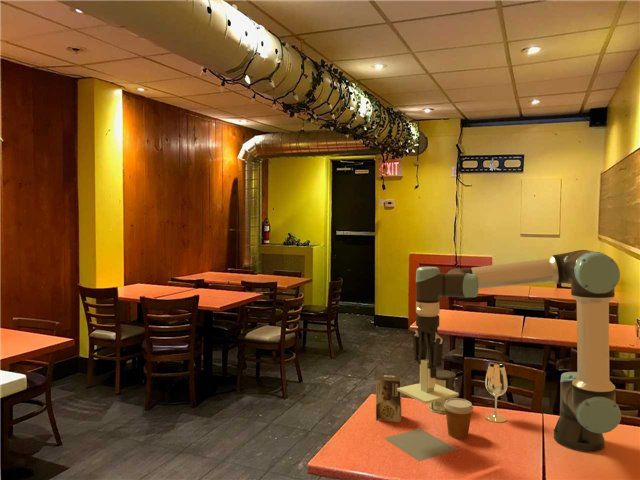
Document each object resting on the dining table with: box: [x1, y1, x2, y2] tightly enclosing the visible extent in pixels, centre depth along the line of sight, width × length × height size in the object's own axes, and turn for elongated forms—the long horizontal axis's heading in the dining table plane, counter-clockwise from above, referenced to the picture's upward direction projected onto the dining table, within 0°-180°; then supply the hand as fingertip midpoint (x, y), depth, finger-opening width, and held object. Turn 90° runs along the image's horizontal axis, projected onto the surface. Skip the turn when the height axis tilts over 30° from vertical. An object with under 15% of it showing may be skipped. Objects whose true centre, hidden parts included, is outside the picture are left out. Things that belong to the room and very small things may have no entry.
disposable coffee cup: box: [444, 397, 474, 440], centre depth 170 cm, size 10×10×12 cm
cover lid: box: [397, 358, 460, 405], centre depth 163 cm, size 14×14×11 cm
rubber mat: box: [383, 428, 459, 462], centre depth 163 cm, size 18×16×1 cm
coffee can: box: [427, 369, 457, 415], centre depth 195 cm, size 10×10×14 cm
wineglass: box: [484, 363, 508, 423], centre depth 186 cm, size 8×8×20 cm
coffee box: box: [375, 374, 402, 423], centre depth 184 cm, size 9×6×16 cm
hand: (427, 385), depth 163 cm, fingers closed on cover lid, 3 cm apart
